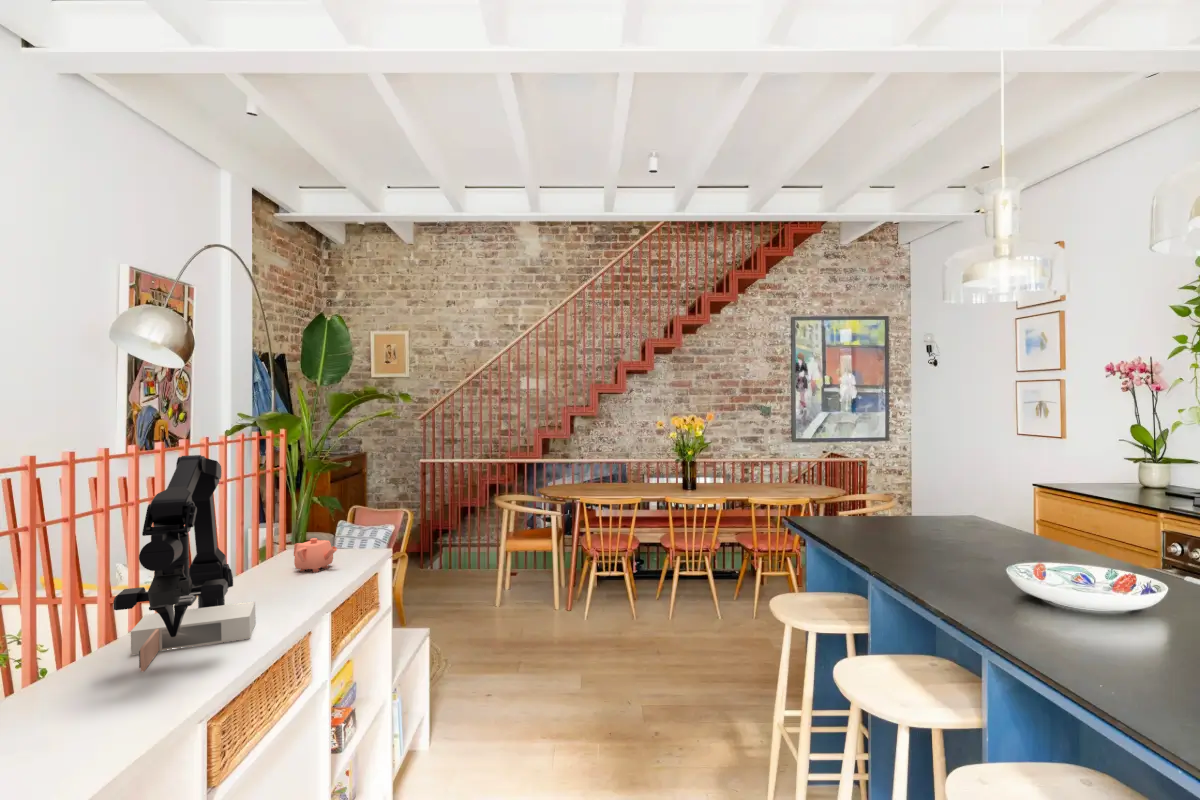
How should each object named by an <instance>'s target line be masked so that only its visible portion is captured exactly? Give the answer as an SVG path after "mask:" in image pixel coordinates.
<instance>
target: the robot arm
mask: <svg viewBox="0 0 1200 800" xmlns="http://www.w3.org/2000/svg"><path fill="white" fill-rule="evenodd" d="M175 465H176V466H175V470H174V473H173V475H172V477H171V479H170V481H169V483H168V486H167V488H166V489H164V490H162V491H160V492H158V493H156V494H155V496H154V497H153V499H151V502H150V503H149V504H148V505H147V507H146V513H145V518H144V523H143V528H142V533H141V534H142V537H143V536H144V537H145V536H150V541H148V543H146V544H145V545H143V547H142V548H141V549H140V552H139V555H138V560H139V563H140V565H141V566H142V568H144V569H146V570H148V571H151V572H154V573H153V579H152V581H151V584H150V586H149V588H148V591H146V590H147V589H146V588H145V587H144V586H142V587H134V588H133V587H131V588H124V589H123V590H122V591H120V592H119V593H118V594H117V595H116V596H114V599H113V601H112V602H113V604H112V605H113V610H114V611H122V610H130V609H133V608H134V607H135V606H136V605H137V604H138V603H144V602H149V607H148V610H149V611H155V612H156V613H158V614H159V615H160V616H161V618H162V619H163V621H164V623H165V625H166V628H167V630H168V632H169V634H170V636H171V637H176V636H177V633H178V630H179V627H180V625H181V622H182V619H183V616H184V614H185V611H186V610H188V607H191V606H192V605H193V604H195V603H194V602H195V601H196V600H197V607H198V608H205V607H214V606H222V605H226V603H225V602H226V601H225V596H226V595H227V593H228V591H229V588H233V587H234V578H233V577H234V576H233V571H232V568H230V564H229V563H227V557H226V554H224V552H223V551H222V550H220V548H219V547H218V537H217V527H216V516H215V515H216V514H215V504H214V503H215V502H214V492H215V490H216V489H217V487H218V486H219V483H220V480H221V478H222V465H221V463H220V462H218V460H216V459H215V460H214V459H212V458H211V459H210V458H208V457H205V455H202V454H194V455H193V454H192V455H181V456H178V457H177V460H176V464H175ZM191 528H193V531H194V542H195V551H196V552H195V556H194V557H193V559H192V561H191V563H190V549H189V548H190V546H189V545H190V544H189V539H190V538H189V536H190V535H189V532H190V531H191ZM174 611H175V613H174Z"/></svg>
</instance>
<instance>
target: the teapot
mask: <svg viewBox="0 0 1200 800" xmlns="http://www.w3.org/2000/svg"><path fill="white" fill-rule="evenodd" d="M337 551H338V549H337V547H336V546H332V545H331V542H330V540H325V539H322V540H320V539H318V538H317V537H313V538H310V539H309V540H308V541H305V542H302V543H301V542H298V543H294V546H293V557H294V561H293V563H294V567H295V569H299V572H300V571H303V572H306V571H307V570H312V573H318V571H319V572H320V568H321V569H329V565H330V564H332V563H333V560H334V554H335V552H337ZM305 570H306V571H305Z"/></svg>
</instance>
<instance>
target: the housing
mask: <svg viewBox="0 0 1200 800" xmlns="http://www.w3.org/2000/svg"><path fill="white" fill-rule="evenodd" d="M174 613H175V611H174ZM256 618H257V617H256V601H248V602H241V603H239V602H238V603H233V604H232V603H231V604H230V603H229V604H225V605H222V606H214V607H205V608H190V609H186V611H185V614H184V616H183V619H182V622H181V625H180V627H179V630H178V633H177V636H176V637H171V636H170V634H169V632H168V630H167V628H166V625H165V623H164V621H163V619H162V618H161V616H160V615H159V614H158V613H157V612H156V613H149V614H148V613H146V614H145V615H144V616H143V617H142V618H141V619H140V620H139V621H138V623H137V624H136V625H135V626H134V627H133V628H132V629H131V631H130V655H131V656H137V655H136V654H138V655H139V651H140V648H141V647H142V646H143V645H144V643H145V642H146V641H147V639H148V638H149V637H150V636H151V634H152V633H153V632H154V631H155V629H159V651H160V652H163V651H162V650H167V649H172V648H181V647H188V648H193V647H192V646H196V647H201V646H202V645H203V646H209V645H216V644H223V642H224V643H230V642H229V641H232V642H237V641H236V640H239V641H243V640H244V639H246V640H250V639H251V637H252V634H253V632H252V631H254V628H255V626H256V623H257V622H256V621H257V620H256ZM244 641H245V640H244ZM203 646H202V647H203ZM181 649H182V648H181ZM167 651H168V650H167Z"/></svg>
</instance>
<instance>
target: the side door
mask: <svg viewBox="0 0 1200 800" xmlns="http://www.w3.org/2000/svg"><path fill="white" fill-rule="evenodd" d="M158 651H159V629H155V631H154V632H153V633H152V634H151V636H150V637H149V638H148V639H147V641H146V642H145V643H144V645H143V646H142V647H141V648H140V651H139V654H138V663H139V664H138V665H139V666H138V667H139V669H140V672H141V673H142V672H143V673H144V672H145V671H146V669H147V668H148V667H149V666H150V664H151V663H152V661H153V659H154V658H155V657H156V656H157V654H158V653H159V652H158Z"/></svg>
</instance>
